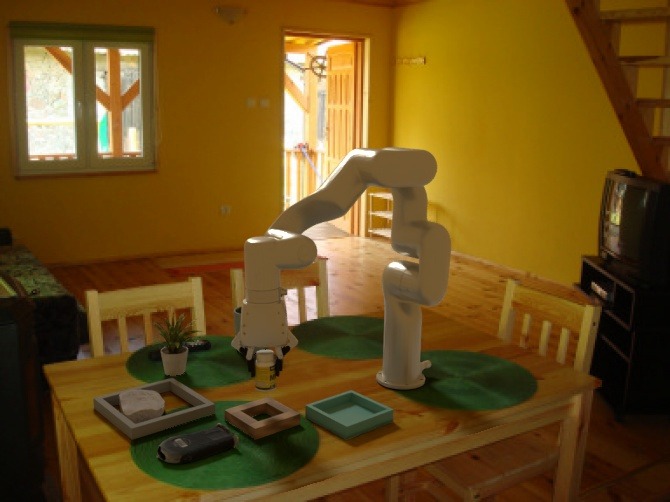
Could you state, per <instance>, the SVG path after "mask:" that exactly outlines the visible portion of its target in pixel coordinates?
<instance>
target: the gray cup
mask: <svg viewBox="0 0 670 502" xmlns="http://www.w3.org/2000/svg"><path fill="white" fill-rule="evenodd" d="M241 309H242V305H240V306H238V307H235V308H234V309H233V317H234V332H235V333H234V334H235V335H234V336H236V335H237V334H238V333H239V331H240V330H241ZM240 343H241V340H240ZM241 344H242V343H241ZM245 347H246V346H245ZM246 348H247V349H248V347H246ZM265 349H266V350H267V347H254V350H253V354H255V353H256V352H257V351H259V350H265ZM238 351H239V350H238ZM255 355H256V354H255Z"/></svg>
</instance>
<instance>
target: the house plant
mask: <svg viewBox="0 0 670 502" xmlns="http://www.w3.org/2000/svg"><path fill="white" fill-rule="evenodd" d="M184 315H185V312H184V313H182V314H180V316H179V317H178V318H177V321H176V323H175V311H173V312H172V315H171V323H170V320H168V319H167V317H165V316H163V317H164V320H162V319H160V318H159V320H160V321H162V322H163V323H164V324H165V327H166V328H167V330H165V329H164V327H163V326H162V325H161V324H160V323H159V322H158V321H156V320H154V321H151V325H153V326H155V328H157V329H158V330H159V331H158V332H157V333H158V334H159V335H160V336H161V337H163V339H165V341H166V342H163V341H162V339H161V340H160V339H158V338H154V339H153V340H152V341H151V344H153V345H152V347H153V346H155V345H157V344H164V347H163V348H161V349H160V355H161V360H162V364H163V370H164V375H166V376H168V375H170V376H169V377H177V376H176V375H180V376H182V375H181V374H183V373H184V372H185V373H186V368H187V360H188V354H189V348H188V347H187V346H184V344H185V343H195V344H197V343H196V341H195V340H197V341H200V339H199V338H198V337H197V336H194V335H193V336H190V335H191V334H195V333H202V332H204V331H202V330H190V329H192V328H191V327H194V326H196V325H194V324H192V323H193V322H194V321H195V322H196V321H197V320H198V318H195V319H192V320H191V321H190V322H189V323H187V324H186V326H184V327H183V328H181V327H182V325H183V322H184V319H185V318H186V317H187V316H188V313H187V314H186V315H185V316H184ZM156 319H157V320H158V318H156ZM164 321H165V322H164ZM145 325H149V323H148V322H147V323H145ZM194 339H195V340H194ZM185 373H184V374H185ZM184 374H183V375H184Z"/></svg>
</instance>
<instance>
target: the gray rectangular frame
mask: <svg viewBox="0 0 670 502" xmlns="http://www.w3.org/2000/svg"><path fill="white" fill-rule="evenodd" d="M139 389H141V390H152V391H155V392H158V393H159V394H160V395H161V394H163V393H167V392H172V393H173V394H175V395H177V396H178V397H179V398H181V399H182V400H184V401H185V402H187V403H188V404H190V405H191V406H192V407H189V408H185V409H182V410H179V411H176V412H175V411H174V412H173V413H169V414H166V415H162V416H161V417H158V418H155V419H151V420H148V421H144V422H141V423H137V424H134V423H133V422H132V421H131V420H129V419H128V418H127V417H125V416H124V415H123V414H122V413H121V411H119V410H118V409H117V408H115V406H118V405H119V395H120V394H122V393H123V392H126V391H130V390H139ZM92 401H93V409H94V410H96V411H97V412H98V413H99V414H100V415H101V416H103V417H104V418H105V419H106V420H108V421H109V422H110V423H111V424H112V425H113V426H115V427H116V428H117V429H119V431H121V432H122V433H123V434H124V435H126V436H127V437H128V438H129V439H131V440H136V439H139V438H142V437H145V436H146V437H147V436H148V435H152V434H156V433H159V432H163V431H165V429H166V430H168V428H169V429H171V427H172V428H175V427H178V426H177V425H179V426H181V425H180V424H182V425H184V424H183V423H185V424H187V423H186V422H189V421H192V420H194V419H197V418H199V417H203V416H206V415H210V414H214V413H215V414H216V404H215V402H213V401H211V400H210V399H208V398H207V397H204V396H203V395H201V394H200V393H198V392H196V391H194V390H193V389H192V388H190V387H188V386H187V385H185V384H183V383H182V382H181V381H178V380H177V379H175V378H174V377H170V378H167V379H163V380H159V381H158V380H157V381H154V382H151V383H147V384H143V385H139V386H135V387H131V388H127V389H124V390H119V391H114V392H112V393H107V394H104V395H101V396H96V397H93V400H92ZM192 422H193V421H192ZM189 423H190V422H189ZM174 426H175V427H174Z"/></svg>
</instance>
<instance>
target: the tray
mask: <svg viewBox="0 0 670 502" xmlns="http://www.w3.org/2000/svg"><path fill="white" fill-rule="evenodd" d="M304 408H305V410H304V411H305V416H304V418H306V419H307V420H309V421H311V422H313V423H315V425H316V424H317V426H320V427H322V428H324V429H325V430H327V431H329V432H331V433H333V434H334V435H336V436H339V437H340V438H342V439H344V440H346V441H348V440H350V439H353V438H356V437H358V436H361V435H363V434H366V433H367V432H368V433H369V432H371V431H374V430H376V429H379V428H381V427H384V426H386V425H389V424H391V423H393V422H394V409H393V408H391V407H389V406H387V405H385V404H382V403H380V402H378V401H376V400H374V399H372V398H370V397H367V396H366V395H363V394H361V393H359V392H356V391H354V390H352V389H350V390H348V391H344V392H341V393H338V394H336V395H333V396H332V395H331V396H330V397H326V398H324V399H320V400H317V401H314V402H310V403H308V404H305V406H304Z"/></svg>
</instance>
